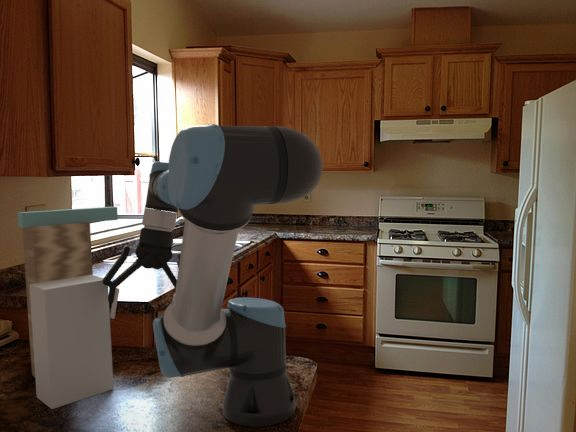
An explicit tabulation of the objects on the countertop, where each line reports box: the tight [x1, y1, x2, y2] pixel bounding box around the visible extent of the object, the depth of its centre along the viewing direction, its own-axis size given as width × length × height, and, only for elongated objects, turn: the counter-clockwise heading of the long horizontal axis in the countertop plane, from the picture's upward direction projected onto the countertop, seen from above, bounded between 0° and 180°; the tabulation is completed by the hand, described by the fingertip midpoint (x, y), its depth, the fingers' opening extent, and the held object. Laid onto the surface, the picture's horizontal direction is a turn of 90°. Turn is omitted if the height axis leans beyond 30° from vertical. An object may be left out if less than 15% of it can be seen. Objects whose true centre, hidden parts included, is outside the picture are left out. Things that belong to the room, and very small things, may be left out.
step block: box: [29, 275, 114, 410], centre depth 117 cm, size 14×9×26 cm, turn 135°
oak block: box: [21, 222, 94, 378], centre depth 130 cm, size 14×7×38 cm, turn 135°
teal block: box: [16, 206, 119, 228], centre depth 131 cm, size 24×4×4 cm, turn 135°
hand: (142, 319), depth 118 cm, fingers open, 13 cm apart
